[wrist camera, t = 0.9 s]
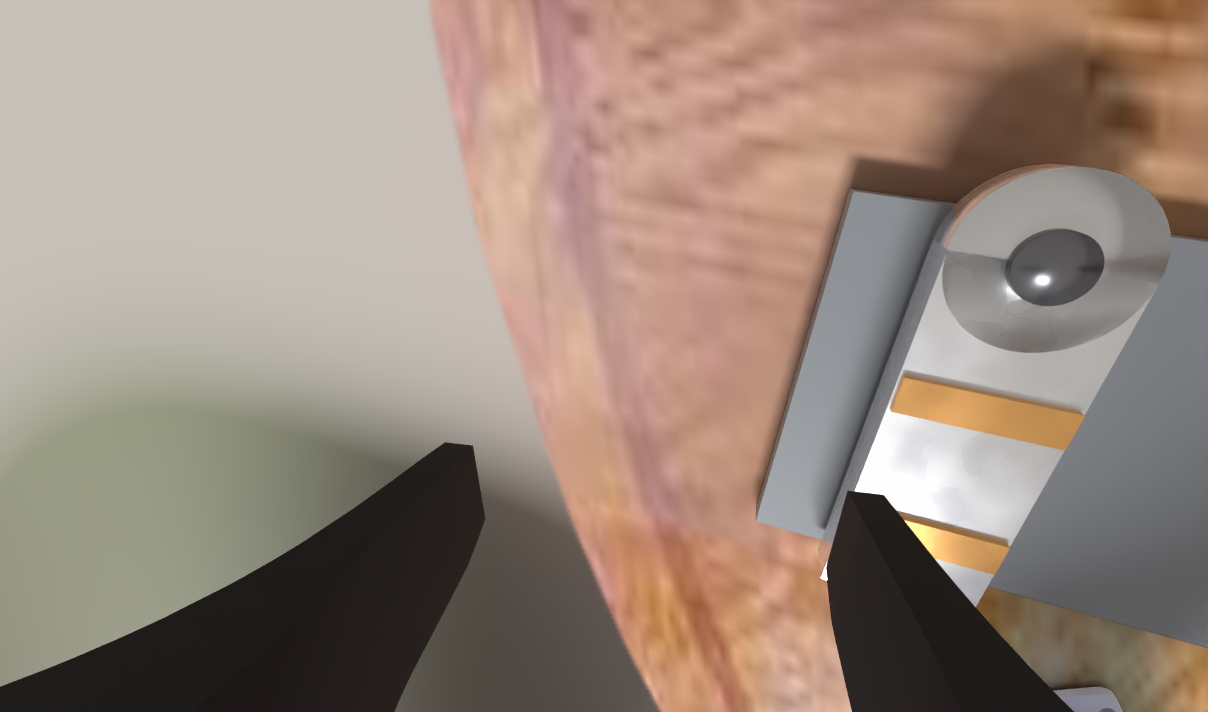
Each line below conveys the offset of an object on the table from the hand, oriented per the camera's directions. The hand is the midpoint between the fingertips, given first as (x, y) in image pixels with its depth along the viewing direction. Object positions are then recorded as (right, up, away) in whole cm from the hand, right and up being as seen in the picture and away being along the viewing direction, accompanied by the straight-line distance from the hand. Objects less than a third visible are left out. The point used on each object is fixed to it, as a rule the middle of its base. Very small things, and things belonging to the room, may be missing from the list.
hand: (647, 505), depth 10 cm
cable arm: (+11, +1, +7) cm, 13 cm away
